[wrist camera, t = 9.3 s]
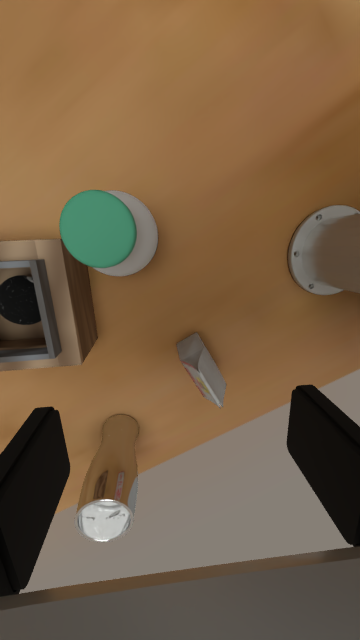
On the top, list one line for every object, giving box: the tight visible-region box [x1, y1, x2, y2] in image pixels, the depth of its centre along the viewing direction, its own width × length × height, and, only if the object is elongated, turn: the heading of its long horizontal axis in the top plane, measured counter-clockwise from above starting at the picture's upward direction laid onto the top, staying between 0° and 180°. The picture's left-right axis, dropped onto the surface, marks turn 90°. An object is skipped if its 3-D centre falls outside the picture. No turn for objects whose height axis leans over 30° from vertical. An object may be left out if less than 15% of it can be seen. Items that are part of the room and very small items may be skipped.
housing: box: [0, 239, 98, 371], centre depth 30 cm, size 14×14×11 cm
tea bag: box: [176, 332, 226, 409], centre depth 35 cm, size 4×7×10 cm, turn 30°
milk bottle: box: [60, 190, 158, 276], centre depth 25 cm, size 8×8×20 cm
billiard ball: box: [0, 275, 41, 325], centre depth 31 cm, size 6×6×6 cm
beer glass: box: [74, 414, 139, 542], centre depth 36 cm, size 7×7×15 cm
